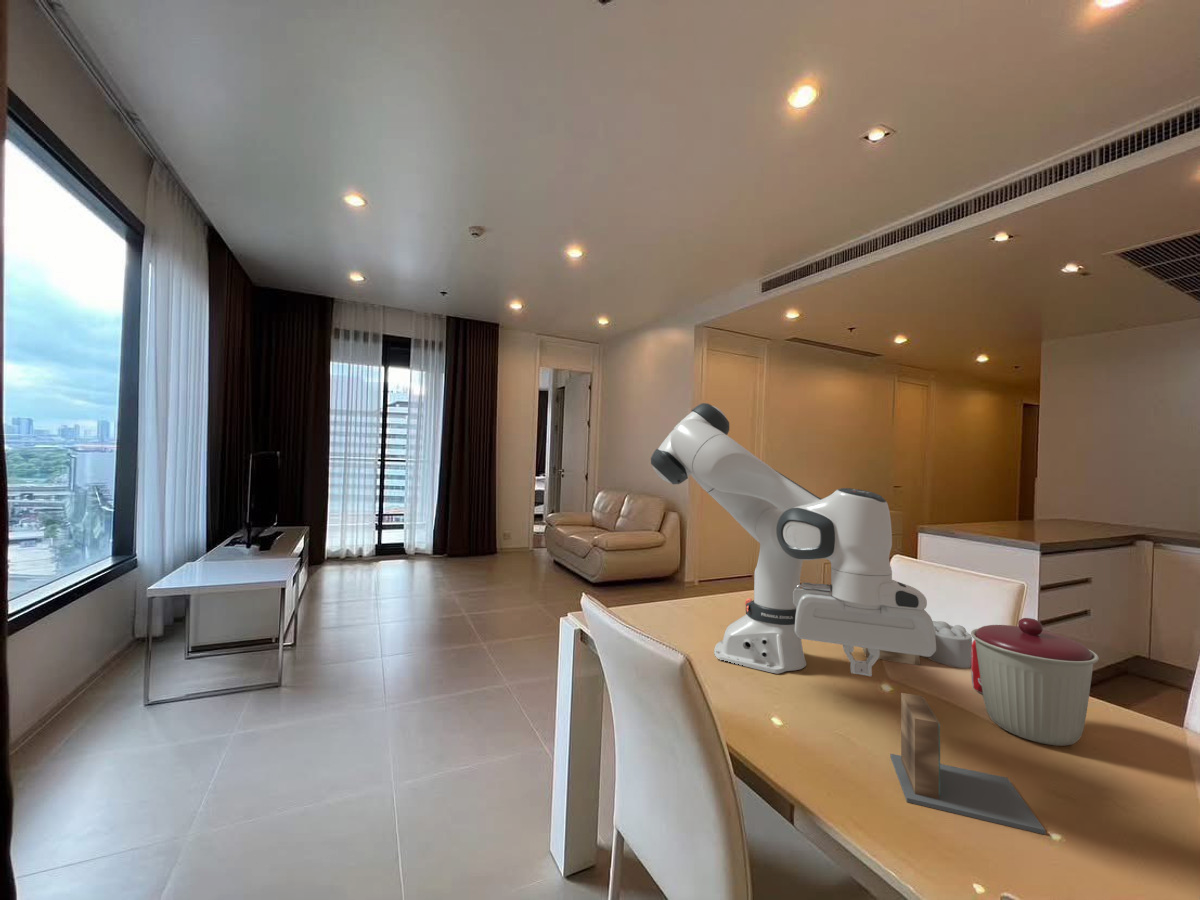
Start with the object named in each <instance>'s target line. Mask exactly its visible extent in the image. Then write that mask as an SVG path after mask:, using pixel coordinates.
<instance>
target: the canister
mask: <svg viewBox="0 0 1200 900" xmlns="http://www.w3.org/2000/svg"><path fill="white" fill-rule="evenodd" d="M970 635H971V637H972V639H973V640H975V641H976V650H977V657H978V664H979V672H980V679H981V685H982V691H983V695H982V696H983V701H984V703H983V704H984V707H985V711H986V712H987V715H988V716H989V718H990V719H991V721H993V722H994V723H995V724H996V725H997V726H998V727H1000V728H1001V729H1003V730H1004V731H1007V732H1008V733H1009V734H1013V735H1014V736H1017V737H1019V738H1023V739H1025V740H1027V741H1032V742H1036V743H1039V744H1044V745H1049V746H1057V747H1059V746H1060V747H1064V746H1065V747H1066V746H1070V745H1074V744H1075V743H1078V741H1079V740H1080V738H1081V737H1082V735H1083V732H1084V729H1085V724H1086V718H1087V711H1088V706H1089V700H1090V693H1091V692H1090V691H1091V685H1092V684H1091V683H1092V676H1093V668H1094V664H1096V663H1097V662H1098V661H1099V655H1098V654H1097V652H1094V651H1093V650H1091V649H1089V648H1088V647H1086V646H1085V645H1084V644H1082V643H1081V642H1078V641H1077V640H1074V639H1071V638H1069V637H1067V636H1063V635H1060V634H1057V633H1053V632H1049V631H1044V626H1043V624H1042V623H1041V622H1040V621H1039V620H1037V619H1035V618H1031V617H1030V618H1029V617H1023V618H1022V617H1021V619H1019V620H1018V622H1017V625H1009V624H1006V625H1005V624H989V625H983V626H981V627H978V628H974V629H972V631H971V632H970Z"/></svg>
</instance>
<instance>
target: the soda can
mask: <svg viewBox="0 0 1200 900" xmlns="http://www.w3.org/2000/svg"><path fill="white" fill-rule="evenodd" d="M970 670H971V672H970V673H971V674H970V675H971V685H972V688H973V689H974V690H976V691H977V692H978V694H981V695H982V696H983V691H982V685H981V679H980V672H979V664H978V657H977V650H976V641H975V639H973V640H972V648H971V667H970Z"/></svg>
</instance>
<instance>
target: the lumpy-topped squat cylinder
mask: <svg viewBox="0 0 1200 900" xmlns="http://www.w3.org/2000/svg"><path fill="white" fill-rule="evenodd" d="M932 621H933V625H934V631H935V638H936V652H935V653H934V654H933V655H932V656H930V657H926V656H924V657H925V658H927V659H929V660H930V661H933V662H935V663H939V664H941V665H945V666H948V667H953V668H957V669H958V668H959V669H969V668H970V669H971V648H972V642H973V637H972V635H971V633H969V632H967V630H966V628H965V626H963V625H960V624H956V625H954V626H953V625H950V624H949V623H948V622H946V621H943V620H939V621H937V620H935V621H934V620H932Z"/></svg>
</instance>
